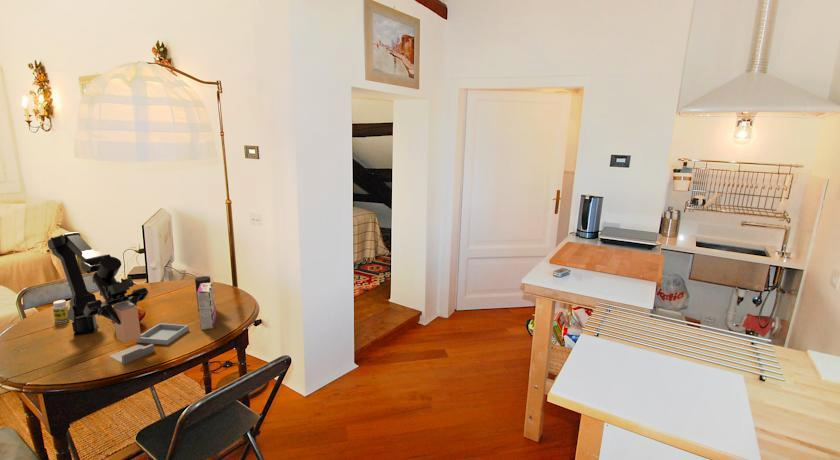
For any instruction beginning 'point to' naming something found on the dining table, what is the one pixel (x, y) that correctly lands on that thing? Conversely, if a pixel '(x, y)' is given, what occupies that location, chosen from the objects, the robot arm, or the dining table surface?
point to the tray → (162, 334)
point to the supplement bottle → (60, 311)
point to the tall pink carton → (127, 322)
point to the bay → (133, 353)
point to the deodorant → (201, 280)
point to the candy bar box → (206, 305)
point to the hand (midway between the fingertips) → (128, 321)
